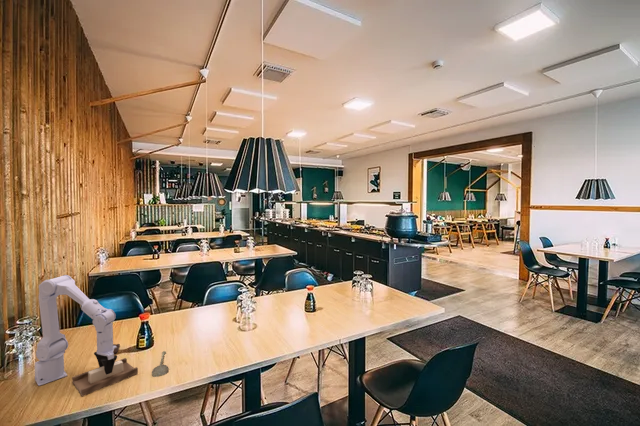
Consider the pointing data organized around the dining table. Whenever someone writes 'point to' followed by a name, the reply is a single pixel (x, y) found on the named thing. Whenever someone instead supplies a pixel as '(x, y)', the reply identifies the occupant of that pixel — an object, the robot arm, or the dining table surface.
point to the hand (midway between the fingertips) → (105, 370)
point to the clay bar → (100, 372)
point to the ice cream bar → (116, 348)
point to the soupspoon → (160, 368)
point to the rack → (86, 387)
